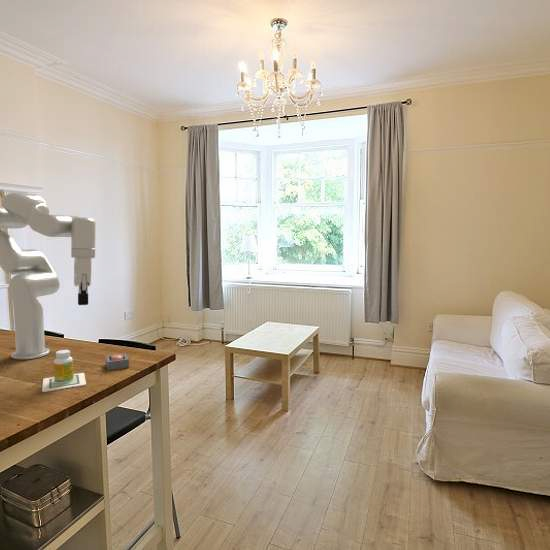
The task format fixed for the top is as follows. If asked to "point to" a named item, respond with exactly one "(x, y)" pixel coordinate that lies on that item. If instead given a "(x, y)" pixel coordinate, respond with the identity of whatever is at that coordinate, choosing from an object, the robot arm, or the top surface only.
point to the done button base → (117, 362)
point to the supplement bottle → (63, 367)
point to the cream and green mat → (76, 382)
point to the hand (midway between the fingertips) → (83, 304)
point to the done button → (116, 357)
